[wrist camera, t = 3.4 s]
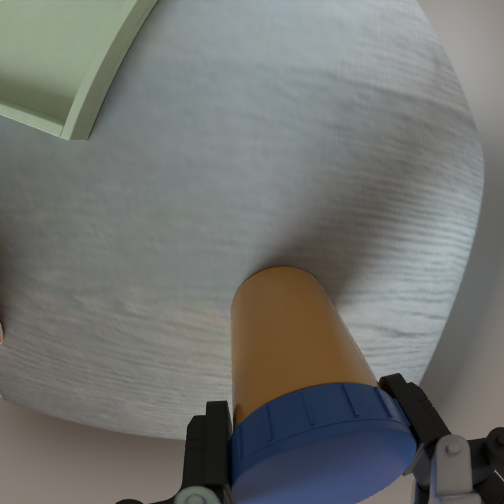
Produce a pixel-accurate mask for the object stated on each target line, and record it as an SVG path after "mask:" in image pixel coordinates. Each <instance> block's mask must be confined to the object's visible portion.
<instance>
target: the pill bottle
mask: <svg viewBox="0 0 504 504" xmlns="http://www.w3.org/2000/svg"><path fill="white" fill-rule="evenodd" d="M2 341H3V330H2V326H1V323H0V345H1V343H2Z"/></svg>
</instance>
